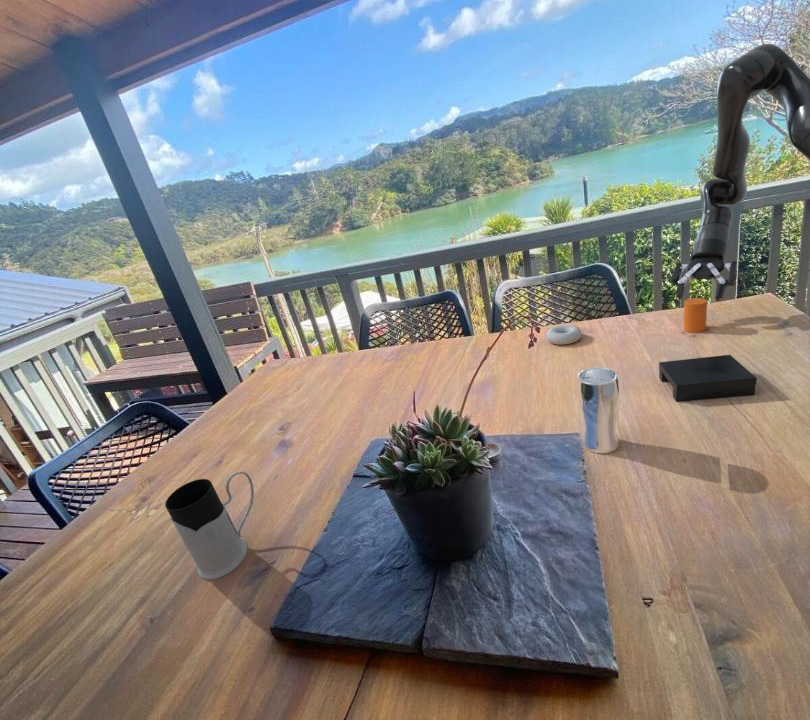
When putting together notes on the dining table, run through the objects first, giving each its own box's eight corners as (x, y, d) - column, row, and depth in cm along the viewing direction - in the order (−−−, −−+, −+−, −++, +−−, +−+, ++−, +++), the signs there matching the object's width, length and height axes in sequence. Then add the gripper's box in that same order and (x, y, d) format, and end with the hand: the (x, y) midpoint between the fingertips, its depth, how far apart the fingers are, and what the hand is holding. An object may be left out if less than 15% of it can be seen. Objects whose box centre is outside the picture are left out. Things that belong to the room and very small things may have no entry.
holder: (191, 563, 79) (154, 500, 73) (260, 514, 87) (232, 453, 81) (208, 588, 72) (170, 521, 67) (281, 533, 81) (253, 468, 75)
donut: (545, 335, 135) (547, 348, 127) (544, 325, 134) (546, 337, 125) (579, 331, 132) (584, 344, 124) (579, 321, 131) (583, 333, 122)
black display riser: (728, 370, 96) (730, 354, 95) (755, 395, 86) (756, 377, 85) (658, 377, 100) (658, 362, 98) (676, 402, 90) (676, 385, 89)
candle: (701, 324, 119) (702, 296, 116) (709, 331, 114) (710, 302, 111) (680, 327, 120) (681, 299, 117) (687, 333, 116) (688, 305, 113)
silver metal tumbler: (585, 431, 88) (580, 365, 82) (623, 436, 84) (621, 367, 78) (578, 452, 83) (572, 383, 77) (618, 458, 79) (616, 386, 73)
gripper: (678, 239, 121) (665, 292, 118) (742, 235, 111) (729, 293, 108) (683, 252, 126) (670, 303, 123) (744, 250, 116) (732, 305, 114)
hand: (698, 298), depth 116 cm, fingers open, 8 cm apart
